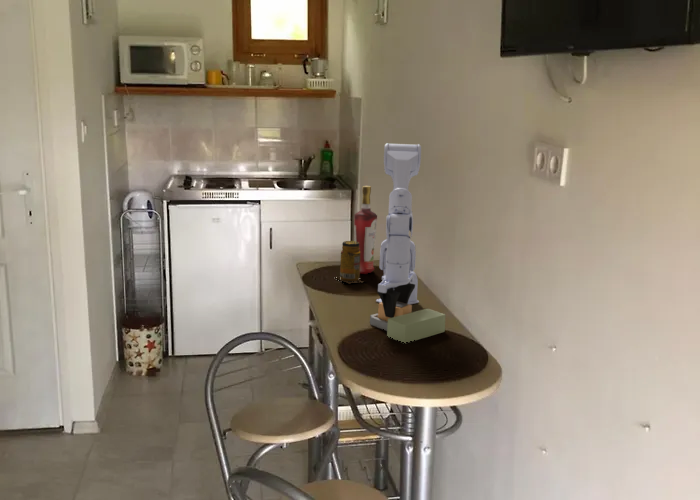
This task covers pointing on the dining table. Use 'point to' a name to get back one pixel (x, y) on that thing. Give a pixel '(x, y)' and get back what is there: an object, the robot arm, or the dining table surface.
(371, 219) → the liquor
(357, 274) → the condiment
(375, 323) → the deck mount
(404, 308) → the orange box grey panel
